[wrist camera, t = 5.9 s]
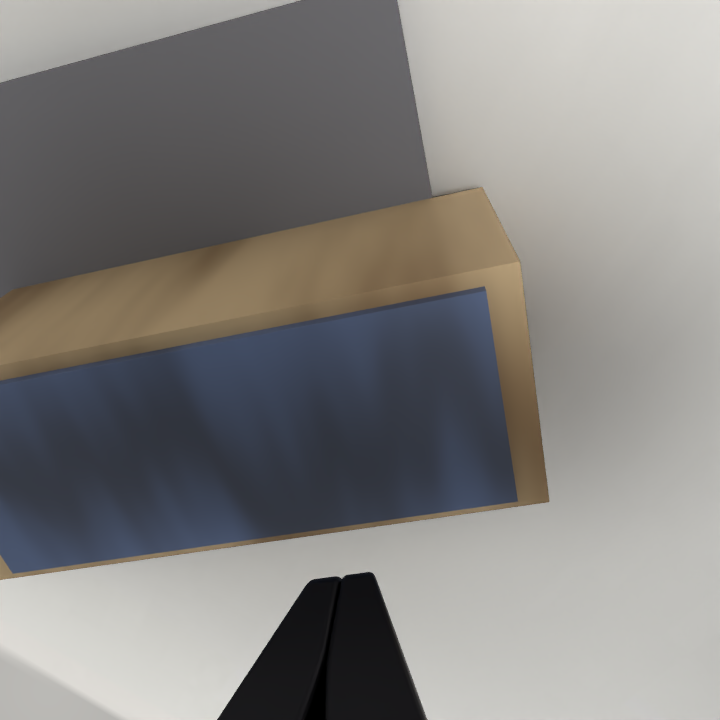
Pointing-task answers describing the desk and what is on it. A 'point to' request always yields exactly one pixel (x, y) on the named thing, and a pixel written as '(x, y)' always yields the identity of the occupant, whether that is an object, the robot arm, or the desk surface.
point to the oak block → (269, 390)
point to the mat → (207, 139)
